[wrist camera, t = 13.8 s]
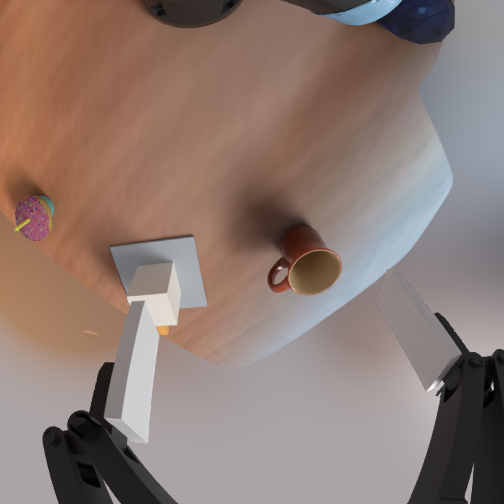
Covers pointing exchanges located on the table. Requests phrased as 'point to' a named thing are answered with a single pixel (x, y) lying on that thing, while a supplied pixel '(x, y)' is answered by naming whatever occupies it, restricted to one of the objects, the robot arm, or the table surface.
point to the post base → (163, 252)
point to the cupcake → (34, 217)
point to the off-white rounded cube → (157, 293)
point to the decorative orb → (420, 20)
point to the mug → (305, 263)
